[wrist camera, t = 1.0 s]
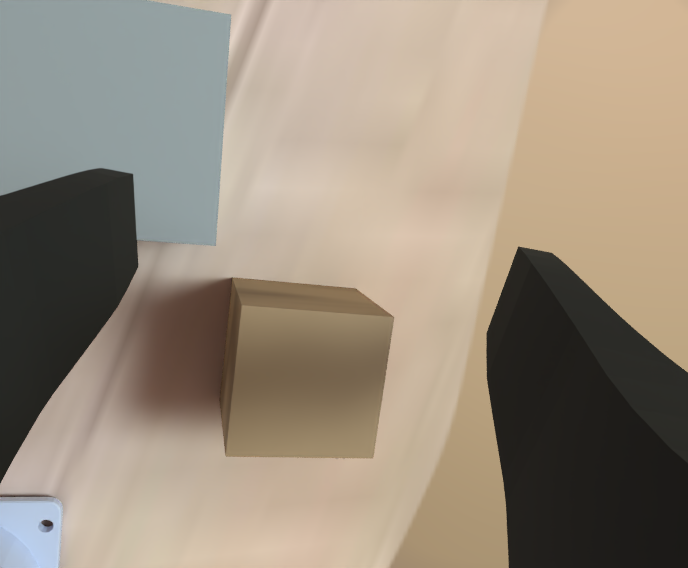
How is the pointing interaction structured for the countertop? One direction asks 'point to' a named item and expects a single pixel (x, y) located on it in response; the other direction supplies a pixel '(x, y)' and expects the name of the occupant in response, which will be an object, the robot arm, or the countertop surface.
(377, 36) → the countertop surface
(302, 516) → the countertop surface
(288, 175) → the countertop surface
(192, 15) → the slate block
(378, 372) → the walnut cube
